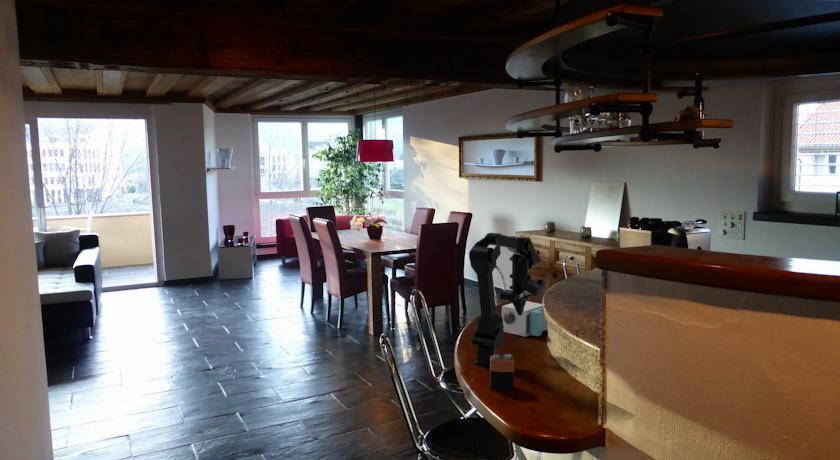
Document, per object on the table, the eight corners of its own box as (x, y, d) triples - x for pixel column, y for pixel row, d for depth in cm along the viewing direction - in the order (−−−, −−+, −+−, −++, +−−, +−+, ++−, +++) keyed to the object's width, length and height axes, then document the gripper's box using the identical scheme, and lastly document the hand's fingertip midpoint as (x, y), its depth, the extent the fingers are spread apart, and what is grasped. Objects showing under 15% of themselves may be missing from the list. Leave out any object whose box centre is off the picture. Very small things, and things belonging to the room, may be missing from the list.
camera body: (523, 337, 231) (524, 311, 230) (499, 331, 238) (500, 306, 237) (545, 329, 242) (545, 304, 241) (521, 324, 249) (522, 300, 248)
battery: (513, 390, 178) (514, 357, 176) (490, 390, 178) (491, 357, 177) (512, 385, 182) (513, 352, 181) (489, 384, 182) (490, 352, 181)
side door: (537, 336, 231) (538, 313, 230) (529, 334, 233) (530, 311, 232) (552, 330, 239) (553, 308, 238) (544, 328, 241) (545, 306, 240)
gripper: (526, 279, 203) (526, 325, 205) (553, 270, 217) (553, 312, 219) (498, 275, 210) (498, 319, 212) (526, 266, 224) (526, 308, 226)
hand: (520, 314), depth 217 cm, fingers closed
